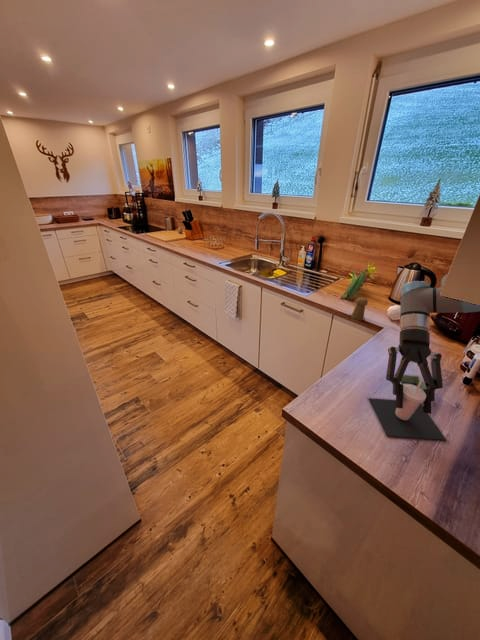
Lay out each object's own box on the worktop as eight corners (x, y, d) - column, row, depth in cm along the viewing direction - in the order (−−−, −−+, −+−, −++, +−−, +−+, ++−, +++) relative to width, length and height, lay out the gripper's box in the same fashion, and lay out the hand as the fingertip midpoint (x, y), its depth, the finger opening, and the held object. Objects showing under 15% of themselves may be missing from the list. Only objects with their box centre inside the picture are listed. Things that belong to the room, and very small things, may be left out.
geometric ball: (396, 325, 136) (409, 318, 129) (383, 318, 136) (395, 312, 129) (396, 313, 140) (408, 306, 133) (383, 307, 139) (395, 299, 132)
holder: (415, 382, 94) (418, 375, 92) (429, 399, 87) (432, 392, 85) (391, 380, 94) (394, 373, 93) (403, 397, 87) (406, 391, 85)
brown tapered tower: (348, 317, 136) (354, 298, 131) (354, 314, 140) (359, 295, 134) (360, 321, 132) (365, 302, 127) (365, 318, 136) (371, 298, 130)
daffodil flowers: (328, 296, 162) (350, 269, 181) (347, 311, 161) (366, 283, 179) (346, 280, 148) (367, 252, 167) (366, 297, 146) (385, 267, 165)
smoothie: (406, 427, 75) (425, 391, 68) (385, 412, 80) (401, 376, 73) (418, 418, 78) (437, 382, 71) (397, 404, 83) (413, 369, 76)
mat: (418, 402, 85) (419, 401, 85) (445, 440, 73) (446, 439, 73) (368, 399, 86) (369, 398, 86) (387, 436, 74) (387, 435, 73)
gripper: (442, 339, 81) (443, 417, 75) (375, 329, 84) (371, 403, 78) (458, 333, 74) (461, 418, 68) (384, 323, 77) (380, 403, 71)
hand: (413, 410), depth 73 cm, fingers closed on smoothie, 6 cm apart
